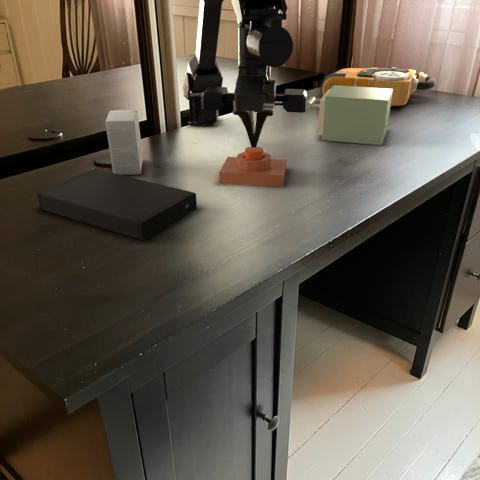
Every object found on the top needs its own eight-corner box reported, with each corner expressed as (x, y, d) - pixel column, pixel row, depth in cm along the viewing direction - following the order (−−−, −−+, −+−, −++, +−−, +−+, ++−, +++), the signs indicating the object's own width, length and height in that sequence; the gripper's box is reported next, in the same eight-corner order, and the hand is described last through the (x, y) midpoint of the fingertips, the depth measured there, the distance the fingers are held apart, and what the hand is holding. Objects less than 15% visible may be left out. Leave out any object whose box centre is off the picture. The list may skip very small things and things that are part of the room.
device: (336, 59, 162) (439, 64, 154) (333, 88, 167) (433, 94, 159) (320, 73, 144) (436, 79, 136) (318, 105, 149) (429, 113, 141)
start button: (243, 161, 101) (243, 151, 100) (246, 154, 104) (246, 145, 103) (262, 161, 101) (262, 152, 100) (264, 155, 104) (264, 146, 103)
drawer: (301, 133, 124) (303, 98, 120) (310, 121, 132) (312, 88, 128) (372, 139, 120) (377, 103, 116) (377, 127, 128) (382, 92, 124)
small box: (116, 162, 112) (109, 109, 106) (143, 161, 112) (137, 109, 106) (112, 175, 105) (104, 121, 99) (141, 174, 106) (134, 120, 100)
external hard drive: (98, 183, 102) (96, 168, 100) (197, 208, 92) (196, 192, 90) (40, 209, 92) (36, 193, 90) (143, 241, 82) (141, 223, 80)
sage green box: (321, 140, 123) (325, 96, 118) (330, 126, 132) (334, 85, 127) (381, 145, 120) (388, 100, 114) (386, 131, 129) (393, 88, 123)
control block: (219, 183, 102) (218, 162, 99) (227, 167, 109) (227, 147, 107) (282, 186, 100) (283, 165, 98) (286, 170, 107) (287, 150, 105)
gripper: (191, 64, 87) (196, 159, 96) (306, 66, 84) (300, 163, 93) (205, 52, 96) (209, 140, 105) (309, 54, 93) (304, 144, 102)
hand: (254, 147), depth 101 cm, fingers closed
